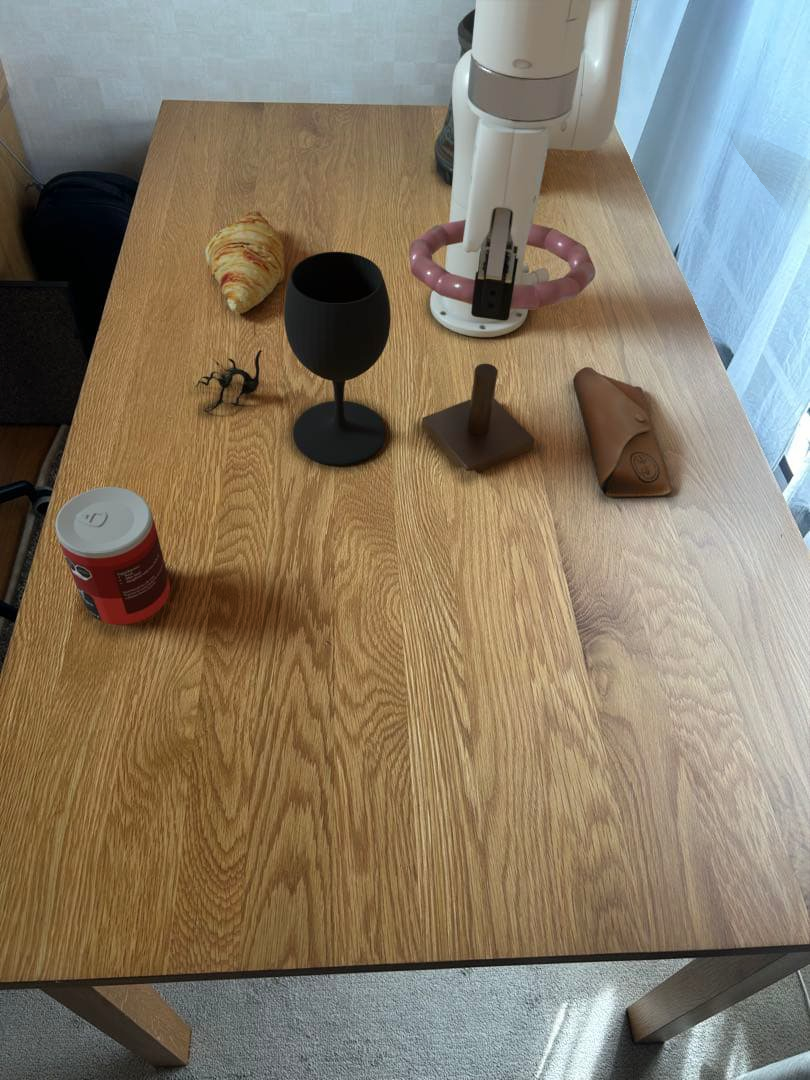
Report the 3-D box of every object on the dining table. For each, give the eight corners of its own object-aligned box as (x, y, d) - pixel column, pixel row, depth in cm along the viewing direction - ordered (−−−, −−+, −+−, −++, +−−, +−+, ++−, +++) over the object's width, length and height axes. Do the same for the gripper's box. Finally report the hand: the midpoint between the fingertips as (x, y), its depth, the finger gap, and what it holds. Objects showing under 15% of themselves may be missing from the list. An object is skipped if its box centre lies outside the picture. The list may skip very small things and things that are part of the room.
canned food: (90, 566, 86) (61, 487, 78) (175, 563, 87) (155, 484, 78) (78, 632, 81) (46, 555, 73) (168, 628, 82) (147, 551, 74)
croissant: (264, 344, 115) (291, 298, 109) (189, 312, 111) (212, 263, 105) (275, 250, 128) (299, 205, 123) (208, 218, 124) (230, 170, 119)
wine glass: (399, 416, 102) (406, 260, 87) (367, 477, 95) (369, 320, 80) (314, 393, 104) (307, 237, 89) (277, 452, 97) (262, 294, 82)
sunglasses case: (678, 493, 95) (661, 454, 90) (615, 517, 97) (594, 480, 93) (641, 383, 107) (623, 344, 102) (585, 407, 109) (565, 369, 104)
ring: (476, 328, 74) (479, 306, 72) (376, 253, 84) (377, 232, 83) (628, 289, 81) (633, 268, 79) (518, 224, 91) (521, 205, 90)
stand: (486, 402, 104) (496, 334, 97) (533, 449, 99) (547, 381, 92) (421, 427, 101) (426, 359, 94) (466, 477, 96) (475, 410, 89)
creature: (189, 419, 102) (254, 418, 100) (172, 381, 98) (239, 379, 96) (213, 376, 107) (275, 374, 105) (197, 338, 103) (261, 336, 101)
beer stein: (485, 135, 147) (504, -38, 128) (575, 182, 139) (610, 4, 120) (411, 166, 140) (420, -14, 121) (501, 218, 131) (526, 33, 112)
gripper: (481, 34, 69) (460, 250, 83) (454, 129, 58) (435, 357, 72) (579, 45, 68) (541, 260, 82) (569, 143, 58) (528, 370, 72)
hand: (492, 304), depth 77 cm, fingers closed on ring, 2 cm apart
